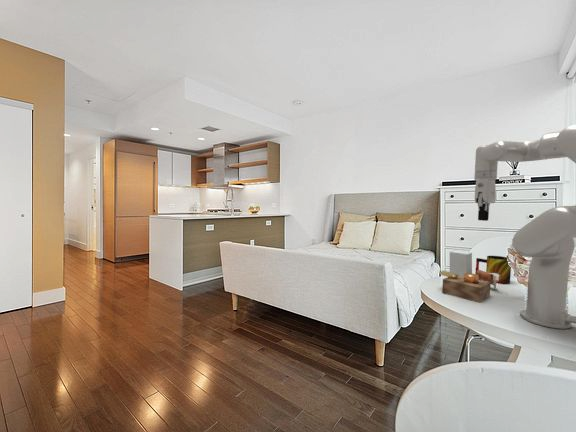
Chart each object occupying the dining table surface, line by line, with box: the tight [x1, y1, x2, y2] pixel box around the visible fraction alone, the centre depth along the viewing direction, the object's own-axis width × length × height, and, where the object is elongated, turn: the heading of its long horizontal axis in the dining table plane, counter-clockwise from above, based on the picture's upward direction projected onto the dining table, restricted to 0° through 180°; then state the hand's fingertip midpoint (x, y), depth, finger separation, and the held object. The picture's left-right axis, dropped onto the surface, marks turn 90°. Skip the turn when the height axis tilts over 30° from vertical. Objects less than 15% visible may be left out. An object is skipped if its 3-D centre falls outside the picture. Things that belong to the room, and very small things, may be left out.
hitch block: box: [441, 276, 491, 304], centre depth 116 cm, size 14×12×6 cm
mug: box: [474, 255, 512, 285], centre depth 137 cm, size 10×14×12 cm
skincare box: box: [449, 250, 473, 277], centre depth 135 cm, size 8×6×15 cm
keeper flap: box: [439, 270, 458, 279], centre depth 122 cm, size 6×4×1 cm
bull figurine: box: [475, 269, 502, 291], centre depth 125 cm, size 4×13×8 cm, turn 2°
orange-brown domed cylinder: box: [464, 272, 479, 284], centre depth 115 cm, size 5×5×8 cm
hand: (483, 220), depth 113 cm, fingers closed
